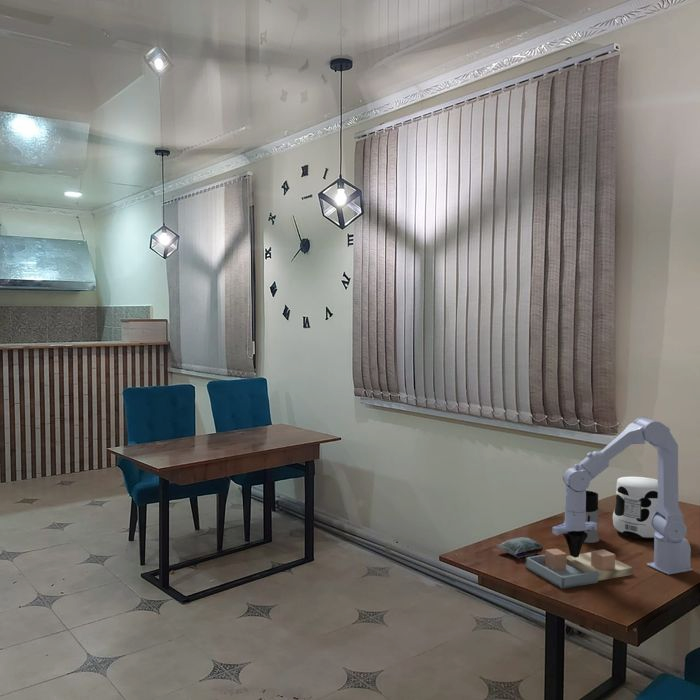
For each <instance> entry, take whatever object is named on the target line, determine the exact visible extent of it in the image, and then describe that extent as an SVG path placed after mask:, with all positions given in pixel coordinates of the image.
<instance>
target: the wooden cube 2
mask: <svg viewBox="0 0 700 700" xmlns="http://www.w3.org/2000/svg"><path fill="white" fill-rule="evenodd" d="M590 552H591V565H592V566H594V567H596V568H598V569H600V570H602V571H604V570H610V569H615V560H616V554H615V553H613V552H610V551H608V550H606V549H604V548H603V549H598V550H592V551H590Z"/></svg>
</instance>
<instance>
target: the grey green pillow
mask: <svg viewBox="0 0 700 700" xmlns="http://www.w3.org/2000/svg"><path fill="white" fill-rule="evenodd" d="M495 545H496V547H498V548H499V549H501V550H502V551H504V552H506V553H508V554H510V555H511V556H512V557H513V556H514V557H515V558H517V559H521V558H526V557H531V556H535V555H536V554H539V553H541V552H542V551H545V549H544V547H543V546H542V544H541V543H539V542H537V541H535V540H534V539H532V538H529V537H523V536H521V537H516V538H511V539H508V540H505V541H503V542H501V543H500V544H498V543H497V544H495Z"/></svg>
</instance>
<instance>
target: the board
mask: <svg viewBox="0 0 700 700" xmlns="http://www.w3.org/2000/svg"><path fill="white" fill-rule="evenodd" d="M566 564H567V565H569V566H571V567H573V568H575V569H577V570H579V571H581V572H583V573H588V572H594V571H597V572H598V582H599V581H605V580H609V579H616V578H620V577H627V576H632V575H634V573H633V572H634V568H633V566H631V565H629V564H625V563H624V562H622V561H619V560H618V559H615V569H610V570H604V571H602V570H600V569H598V568H596V567H594V566H592V565H591V551H589V552H584V553H579V557H576V558H574V557H572V556H570V555H567V558H566Z"/></svg>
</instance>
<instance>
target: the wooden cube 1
mask: <svg viewBox="0 0 700 700" xmlns="http://www.w3.org/2000/svg"><path fill="white" fill-rule="evenodd" d="M544 552H545V554H544V555H545V565H546V566H547V567H549V568H551V569H552V570H554V571H556V570H564V569H566V558H567V556H568V554H567V553H566V552H564V551H563V550H561V549H559V548H550V549H544Z"/></svg>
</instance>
